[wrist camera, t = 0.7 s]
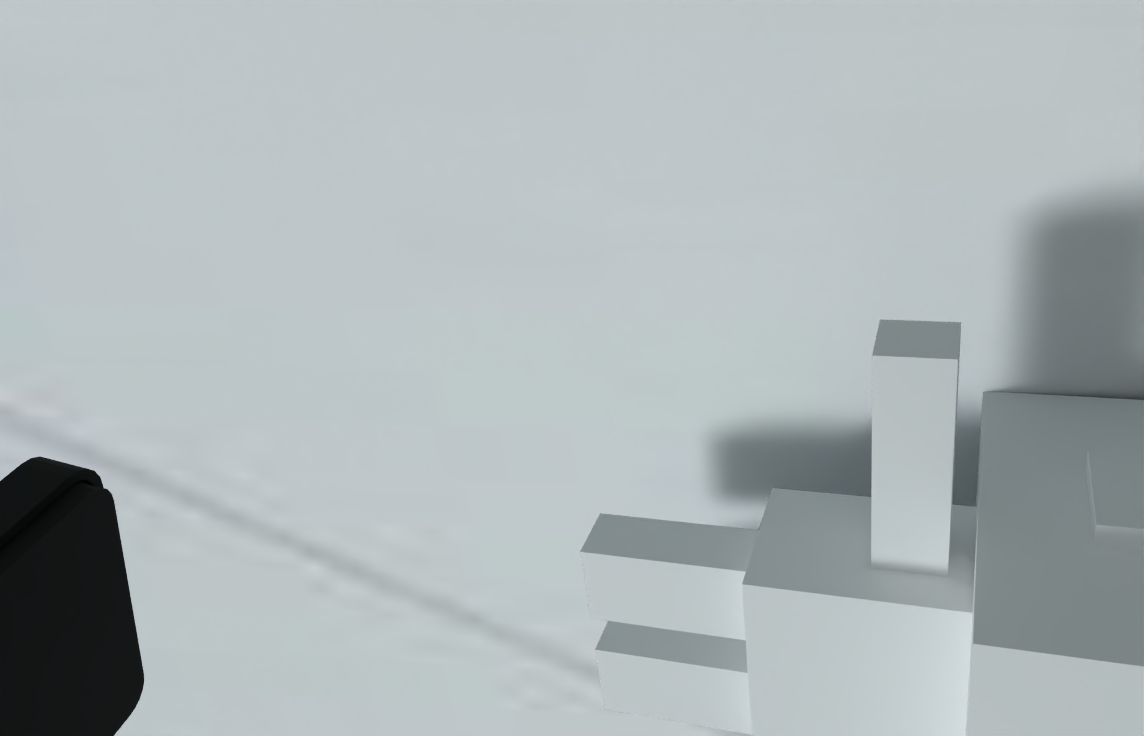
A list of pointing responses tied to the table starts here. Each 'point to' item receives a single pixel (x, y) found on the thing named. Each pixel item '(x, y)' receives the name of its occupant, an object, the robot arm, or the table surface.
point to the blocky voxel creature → (901, 579)
